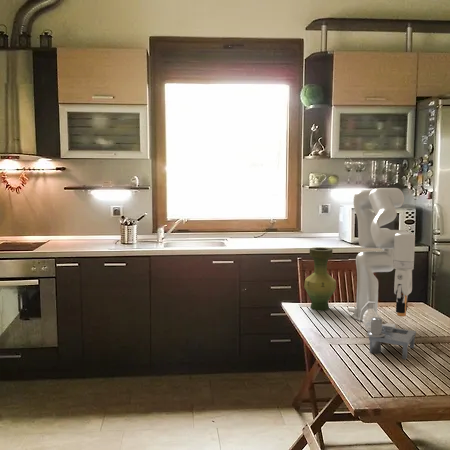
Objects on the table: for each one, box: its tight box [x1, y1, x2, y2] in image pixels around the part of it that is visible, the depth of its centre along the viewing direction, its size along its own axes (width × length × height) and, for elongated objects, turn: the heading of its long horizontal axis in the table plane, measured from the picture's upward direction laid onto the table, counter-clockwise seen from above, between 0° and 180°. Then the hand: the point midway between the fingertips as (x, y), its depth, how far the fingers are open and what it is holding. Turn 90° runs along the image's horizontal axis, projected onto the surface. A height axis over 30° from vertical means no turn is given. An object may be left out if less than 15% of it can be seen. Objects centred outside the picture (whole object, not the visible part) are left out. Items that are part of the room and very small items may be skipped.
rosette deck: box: [366, 317, 417, 360], centre depth 192 cm, size 18×17×13 cm
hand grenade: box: [358, 302, 378, 332], centre depth 214 cm, size 8×6×13 cm
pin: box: [396, 293, 408, 317], centre depth 192 cm, size 4×4×10 cm
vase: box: [303, 246, 337, 312], centre depth 249 cm, size 16×16×30 cm
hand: (401, 311), depth 193 cm, fingers closed on pin, 3 cm apart
